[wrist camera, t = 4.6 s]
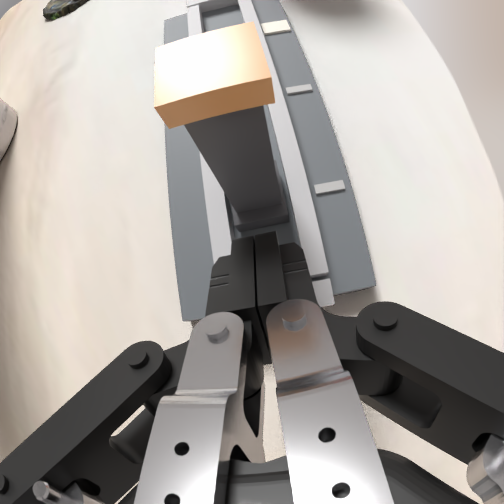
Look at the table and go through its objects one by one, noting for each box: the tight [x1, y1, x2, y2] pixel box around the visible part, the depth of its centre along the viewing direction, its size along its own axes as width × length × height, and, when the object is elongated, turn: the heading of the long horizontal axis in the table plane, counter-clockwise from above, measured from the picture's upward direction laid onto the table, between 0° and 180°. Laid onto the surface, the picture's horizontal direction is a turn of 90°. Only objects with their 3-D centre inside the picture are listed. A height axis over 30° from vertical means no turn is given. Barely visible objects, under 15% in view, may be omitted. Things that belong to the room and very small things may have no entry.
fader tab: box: [154, 21, 289, 232], centre depth 12 cm, size 3×3×10 cm
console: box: [164, 0, 376, 321], centre depth 19 cm, size 10×26×2 cm, turn 10°
